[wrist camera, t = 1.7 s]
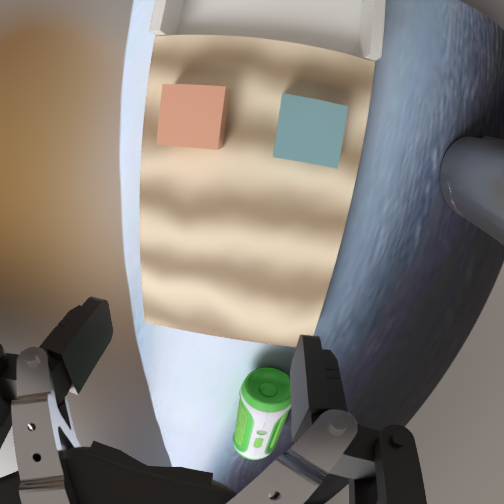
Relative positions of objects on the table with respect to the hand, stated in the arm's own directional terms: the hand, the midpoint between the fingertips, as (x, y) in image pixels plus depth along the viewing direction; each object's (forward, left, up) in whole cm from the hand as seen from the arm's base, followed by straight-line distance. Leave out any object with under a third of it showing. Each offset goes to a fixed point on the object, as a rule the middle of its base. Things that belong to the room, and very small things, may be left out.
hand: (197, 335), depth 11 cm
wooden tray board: (0, 0, -20) cm, 20 cm away
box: (-15, -15, -20) cm, 29 cm away
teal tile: (-9, -2, -16) cm, 19 cm away
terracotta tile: (-2, -9, -16) cm, 19 cm away
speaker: (+17, +26, -20) cm, 37 cm away
